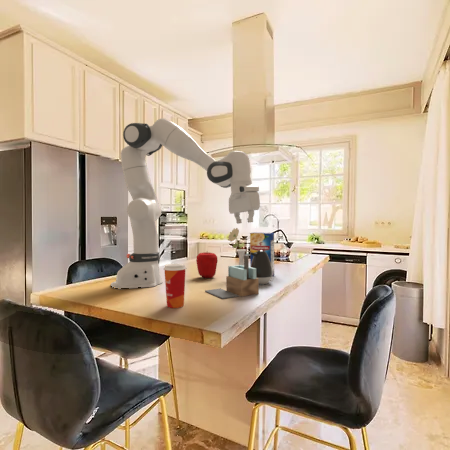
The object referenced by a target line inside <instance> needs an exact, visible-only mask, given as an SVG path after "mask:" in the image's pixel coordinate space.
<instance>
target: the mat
mask: <svg viewBox="0 0 450 450" xmlns="http://www.w3.org/2000/svg"><path fill="white" fill-rule="evenodd" d="M204 292H205V293H207V294H209V295H212V296H214V297H216V298H219V299H222V300H226V299H233V298H238V297H240V296H239V295H237V294H234V293H231V292H228V291H227V289H226V290H225V289H223V288H213V289H207V290H206V289H205V290H204Z"/></svg>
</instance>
